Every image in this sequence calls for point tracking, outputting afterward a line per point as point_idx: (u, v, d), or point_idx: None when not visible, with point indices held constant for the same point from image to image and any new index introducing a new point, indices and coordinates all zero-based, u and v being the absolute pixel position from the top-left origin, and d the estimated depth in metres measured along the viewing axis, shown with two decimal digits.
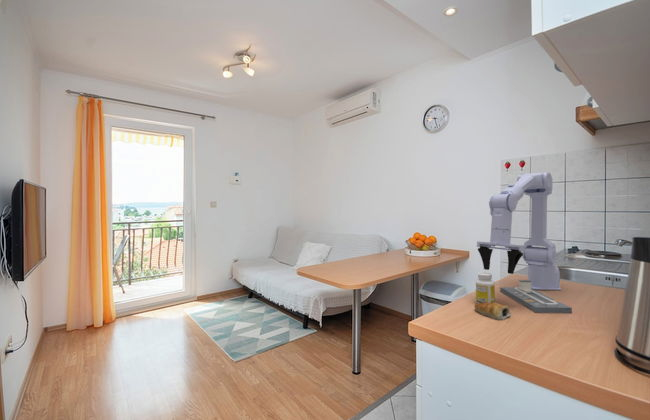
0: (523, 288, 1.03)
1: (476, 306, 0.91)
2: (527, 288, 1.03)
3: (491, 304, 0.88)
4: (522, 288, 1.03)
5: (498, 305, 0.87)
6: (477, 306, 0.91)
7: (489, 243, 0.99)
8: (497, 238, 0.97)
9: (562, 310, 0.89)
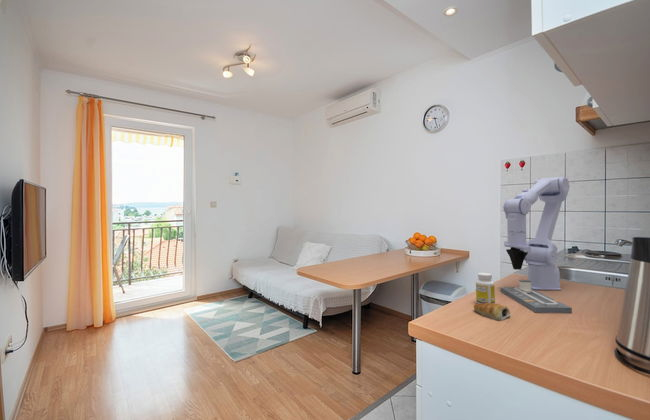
0: (523, 288, 1.03)
1: (475, 306, 0.91)
2: (527, 288, 1.03)
3: (491, 304, 0.88)
4: (522, 288, 1.03)
5: (498, 305, 0.87)
6: (476, 306, 0.90)
7: (506, 244, 1.11)
8: (509, 240, 1.08)
9: (562, 310, 0.89)
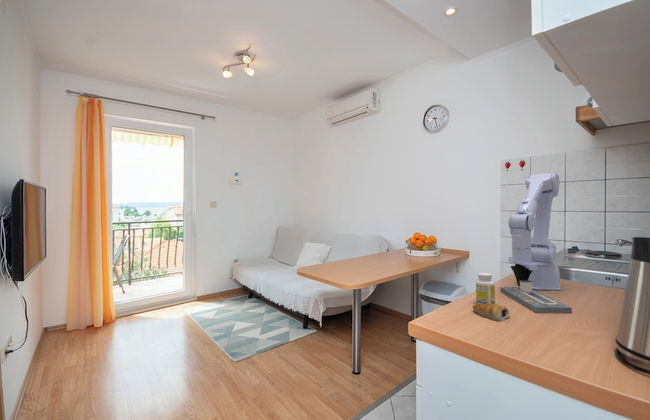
0: (524, 288, 1.03)
1: (475, 307, 0.91)
2: (528, 288, 1.03)
3: (490, 305, 0.87)
4: (523, 288, 1.03)
5: (497, 306, 0.87)
6: (476, 307, 0.90)
7: None
8: (513, 256, 1.05)
9: (562, 310, 0.89)
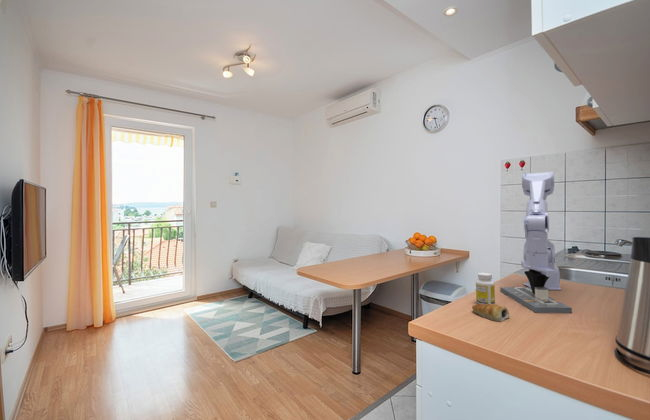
0: (539, 296, 0.94)
1: (474, 308, 0.90)
2: (544, 296, 0.94)
3: (490, 305, 0.87)
4: (538, 296, 0.94)
5: (497, 306, 0.86)
6: (475, 308, 0.90)
7: None
8: (528, 261, 0.97)
9: (562, 310, 0.89)
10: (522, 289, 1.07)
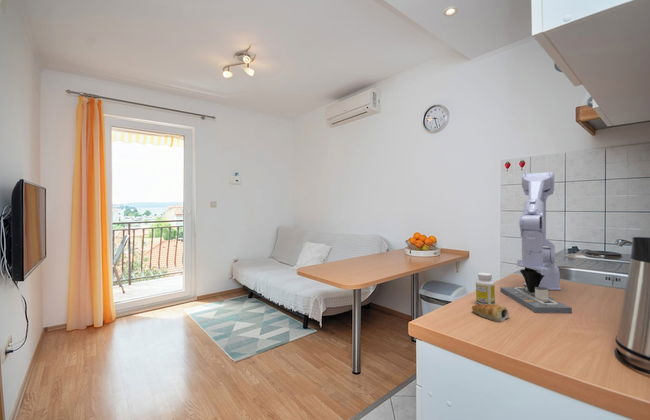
0: (539, 296, 0.94)
1: (474, 308, 0.90)
2: (544, 296, 0.94)
3: (489, 306, 0.87)
4: (538, 296, 0.94)
5: (496, 306, 0.86)
6: (475, 308, 0.89)
7: (520, 264, 1.02)
8: (523, 260, 0.99)
9: (562, 310, 0.89)
10: (522, 289, 1.07)
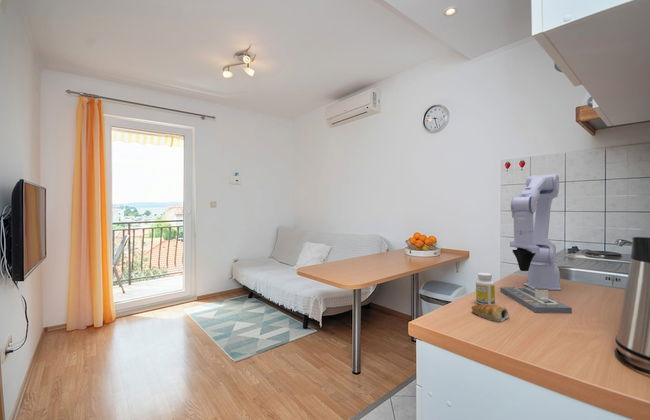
0: (539, 296, 0.94)
1: (474, 308, 0.90)
2: (544, 296, 0.94)
3: (489, 306, 0.87)
4: (538, 296, 0.94)
5: (496, 307, 0.86)
6: (475, 308, 0.89)
7: None
8: (515, 240, 1.03)
9: (562, 310, 0.89)
10: (522, 289, 1.07)
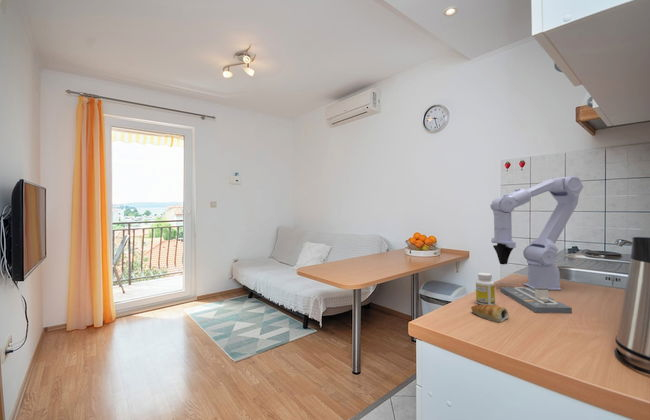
0: (539, 296, 0.94)
1: (473, 308, 0.89)
2: (544, 296, 0.94)
3: (489, 306, 0.87)
4: (538, 296, 0.94)
5: (496, 307, 0.86)
6: (475, 308, 0.89)
7: None
8: (495, 236, 1.15)
9: (562, 310, 0.89)
10: (522, 289, 1.07)
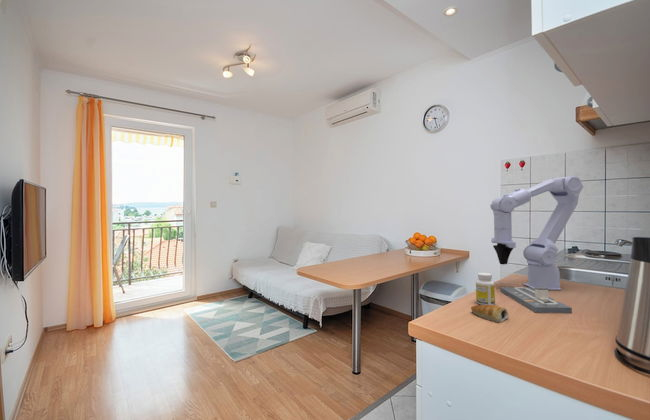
0: (539, 296, 0.94)
1: (473, 309, 0.89)
2: (544, 296, 0.94)
3: (489, 306, 0.86)
4: (538, 296, 0.94)
5: (496, 307, 0.86)
6: (474, 309, 0.89)
7: None
8: (495, 236, 1.15)
9: (562, 310, 0.89)
10: (522, 289, 1.07)
